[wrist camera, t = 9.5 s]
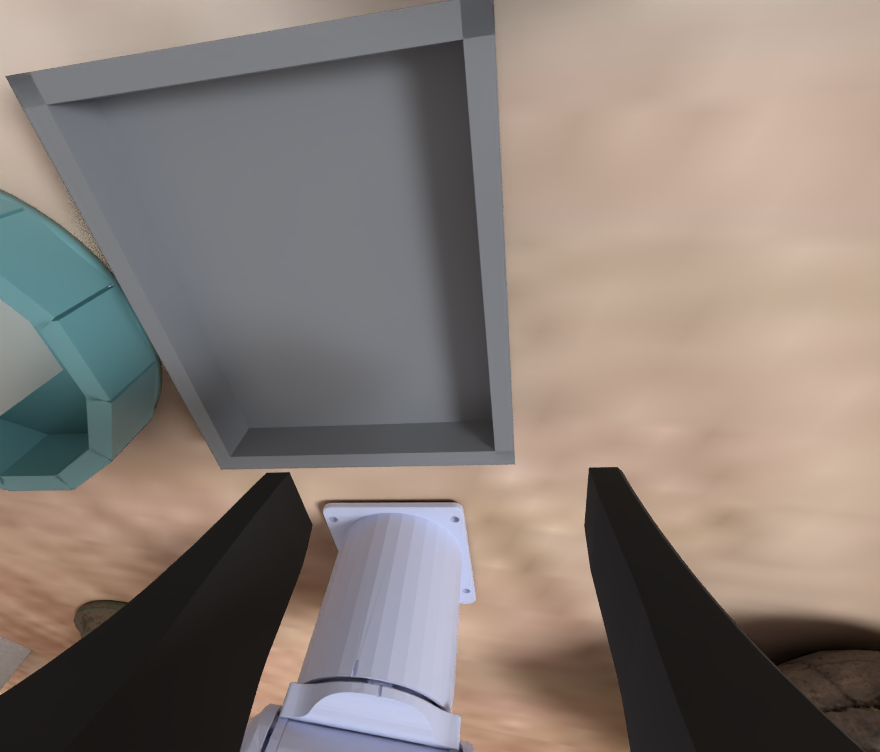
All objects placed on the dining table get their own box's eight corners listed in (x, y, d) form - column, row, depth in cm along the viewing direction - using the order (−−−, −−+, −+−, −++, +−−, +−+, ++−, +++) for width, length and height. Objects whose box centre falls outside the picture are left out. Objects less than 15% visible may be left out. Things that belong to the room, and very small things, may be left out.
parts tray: (513, 426, 22) (514, 464, 20) (244, 433, 24) (221, 469, 22) (493, 2, 13) (493, -7, 11) (71, 73, 15) (5, 76, 13)
